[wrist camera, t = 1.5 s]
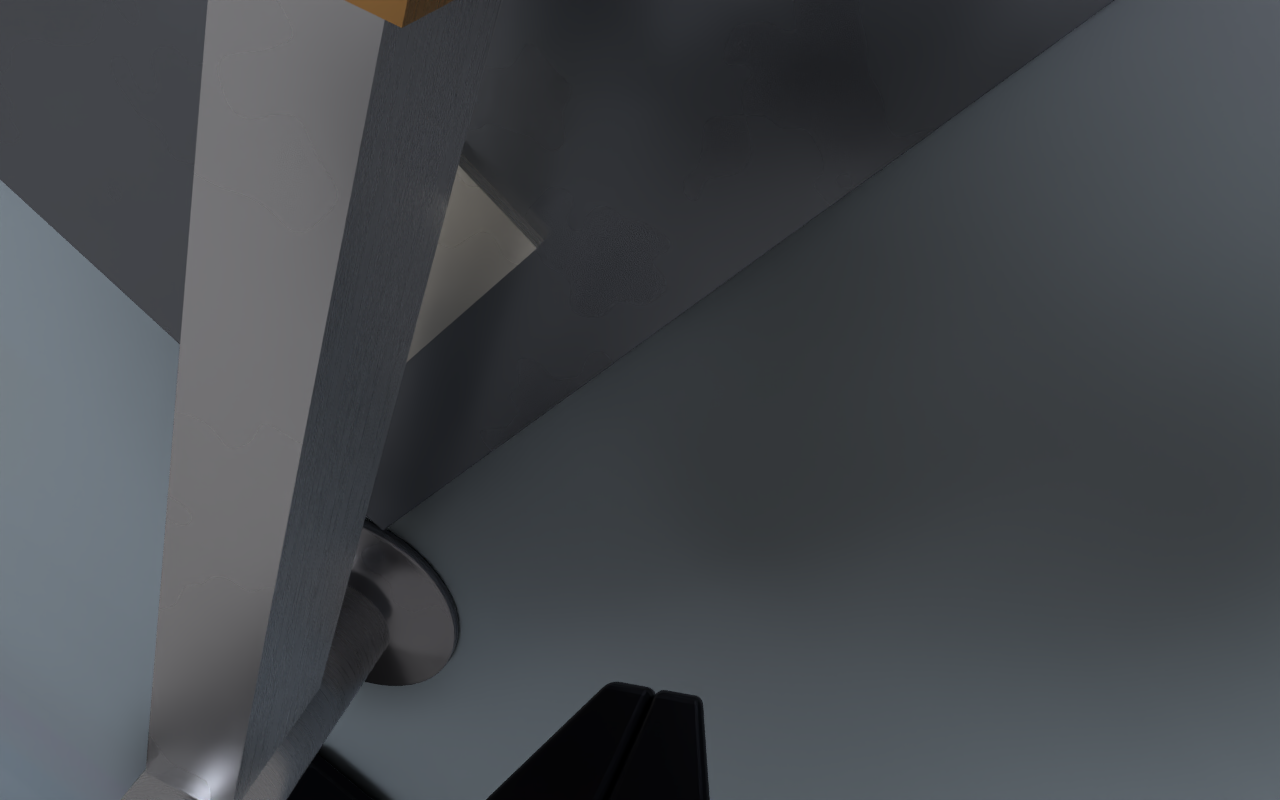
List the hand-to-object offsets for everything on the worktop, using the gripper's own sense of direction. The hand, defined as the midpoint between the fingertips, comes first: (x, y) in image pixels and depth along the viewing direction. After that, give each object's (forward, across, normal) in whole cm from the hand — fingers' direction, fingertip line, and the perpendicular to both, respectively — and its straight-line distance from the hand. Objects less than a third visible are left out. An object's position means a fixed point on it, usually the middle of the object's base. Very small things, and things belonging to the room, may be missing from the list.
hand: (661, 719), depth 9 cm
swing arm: (+7, +6, +1) cm, 10 cm away
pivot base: (+8, +10, +8) cm, 15 cm away
